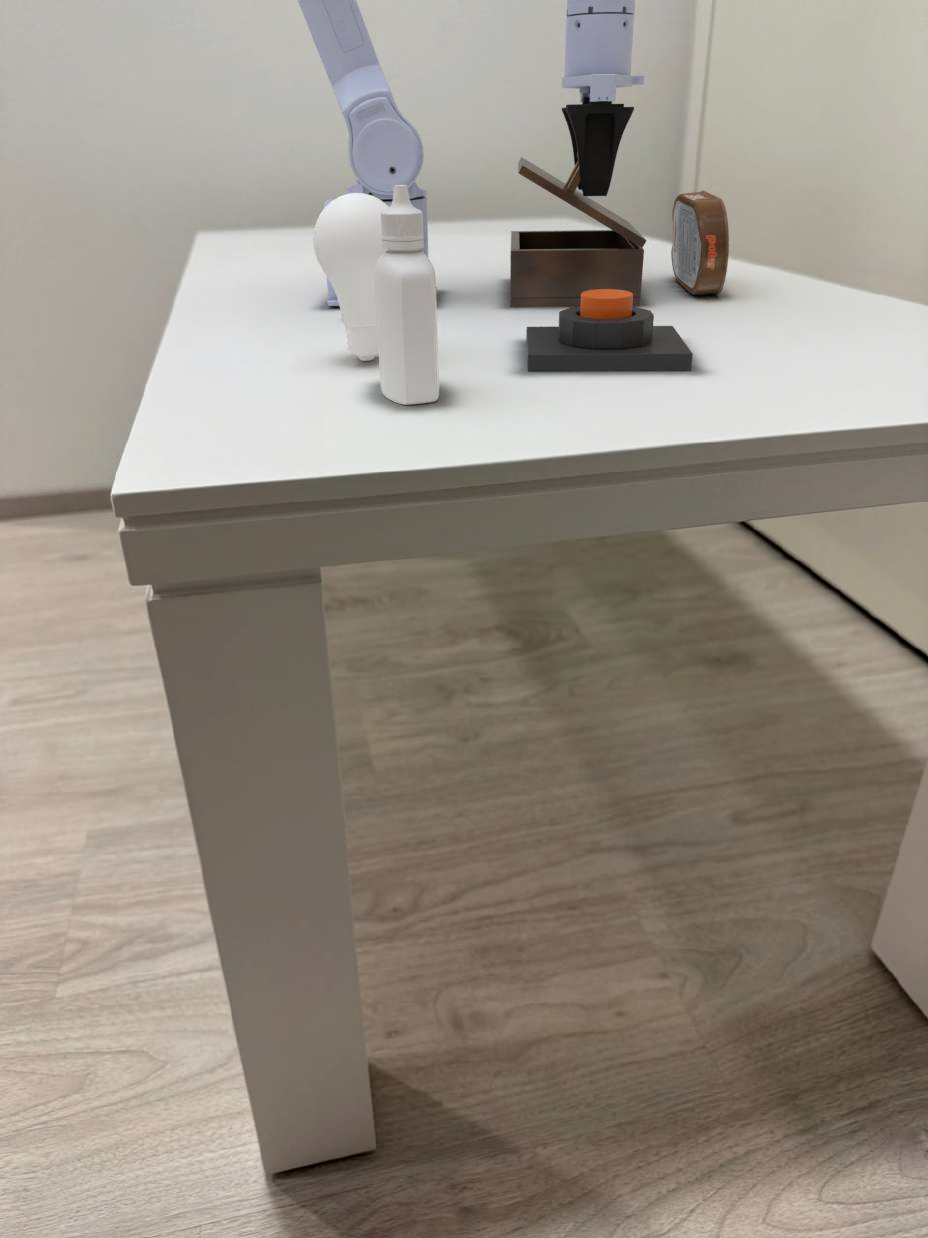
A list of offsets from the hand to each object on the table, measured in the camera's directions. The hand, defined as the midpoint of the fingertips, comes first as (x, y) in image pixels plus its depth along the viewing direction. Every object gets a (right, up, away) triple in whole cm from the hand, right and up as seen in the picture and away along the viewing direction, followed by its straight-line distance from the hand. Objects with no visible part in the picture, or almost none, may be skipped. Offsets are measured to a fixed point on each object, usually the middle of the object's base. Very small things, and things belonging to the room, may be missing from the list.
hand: (591, 192), depth 85 cm
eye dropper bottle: (-15, -25, -26) cm, 40 cm away
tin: (+11, -7, +6) cm, 14 cm away
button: (-2, -18, -20) cm, 27 cm away
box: (-1, -8, +4) cm, 9 cm away
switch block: (-2, -20, -18) cm, 27 cm away
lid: (-1, -1, 0) cm, 2 cm away
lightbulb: (-19, -21, -18) cm, 33 cm away
